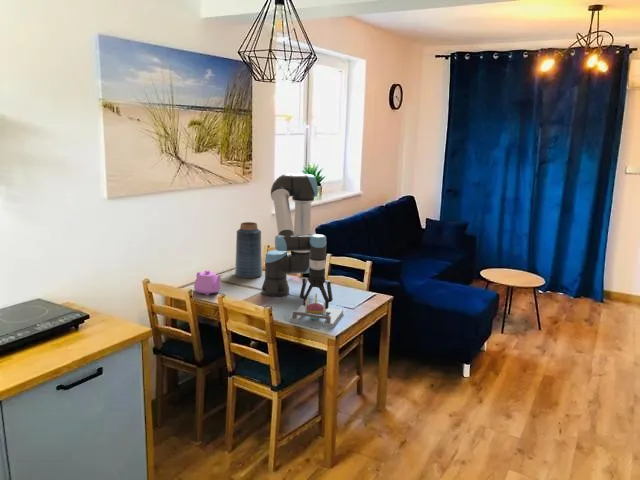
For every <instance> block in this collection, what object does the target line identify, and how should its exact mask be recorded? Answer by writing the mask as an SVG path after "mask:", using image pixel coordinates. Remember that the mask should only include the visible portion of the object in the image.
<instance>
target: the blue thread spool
mask: <svg viewBox="0 0 640 480" xmlns="http://www.w3.org/2000/svg"><path fill="white" fill-rule="evenodd" d="M235 243H236V245H235V264H234V265H235V266H234V273H235V276H236V277H238V278H242V279H254V278H255V279H256V278H259V277H261V276H262V275H263V256H262V253H263V251H262V249H263V248H262V231H261V230H260V229H259V228H258V223H256V222H252V221H246V222H241V223H240V228H238V229H237V230H236V242H235Z"/></svg>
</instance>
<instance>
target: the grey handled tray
mask: <svg viewBox="0 0 640 480" xmlns="http://www.w3.org/2000/svg"><path fill="white" fill-rule="evenodd" d="M291 313H292V315H291V316H290V317H289V318H288V322H289V323H294V324H299V323H300V322H301V321H302V320H303V319H304V318H305V317H309V318H310V317H314V318H320V319H323V320H324V321H323V322H322V327H323V328H329V329H333V328H334V326H335V325H336V324H337V322H338V321H339V320H340V319H341V317H342V316H343V315H344V309H340V308H332V307H328V309H326V315H325V316H324V315H323V313H322V314H321V315H317V314H310V313H308V312H307V313H305V306H304V305H303V304H301V306H299V307H298V308H297V309H296V310H293V311H292V312H291Z"/></svg>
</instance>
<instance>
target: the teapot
mask: <svg viewBox="0 0 640 480" xmlns="http://www.w3.org/2000/svg"><path fill="white" fill-rule="evenodd" d="M195 276H196V279H195V280H194V284H193V288H194V290H195V291H196V292H197V293H198V294H204V296H210V294H217V293H218V292H219V291H220V290H221V287H222V283H221V277H222V276H223V275H222V274H220V275H217V274H216V273H215V272H214V271H211V270H209V269H207V270H204V271H203V272H201V271H199V272H196V275H195Z"/></svg>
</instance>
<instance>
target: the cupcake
mask: <svg viewBox="0 0 640 480" xmlns="http://www.w3.org/2000/svg"><path fill="white" fill-rule="evenodd" d="M317 297H318V294H317V293H315V297H314V299H315V301H314V302H313V303H310V304H309V303H308V306H307V312H308V313H310V314H317V315H321V314H322V313H323V305H322V304H321V303H318V302H317V301H318V299H317ZM309 319H311V320H315V321H317V320H320V319H321V318H314V317H309Z"/></svg>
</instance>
